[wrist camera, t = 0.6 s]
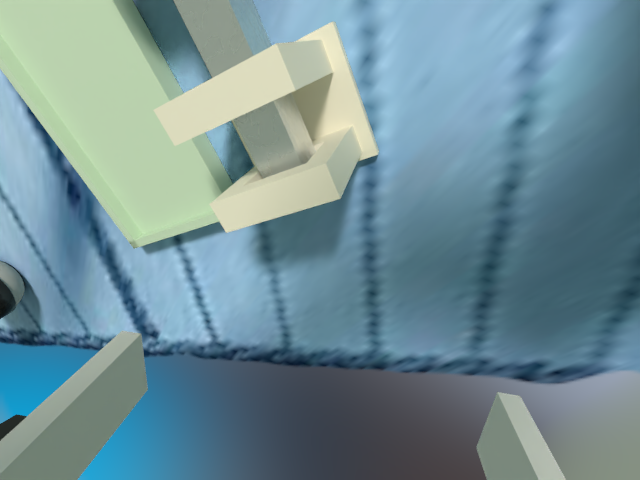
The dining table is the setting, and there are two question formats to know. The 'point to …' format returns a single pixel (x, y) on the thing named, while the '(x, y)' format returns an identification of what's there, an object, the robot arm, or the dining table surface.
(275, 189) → the double loop bracket
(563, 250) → the dining table surface
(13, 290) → the pump dispenser
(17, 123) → the dining table surface
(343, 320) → the dining table surface
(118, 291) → the dining table surface
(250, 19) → the gold disc post
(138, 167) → the tray
